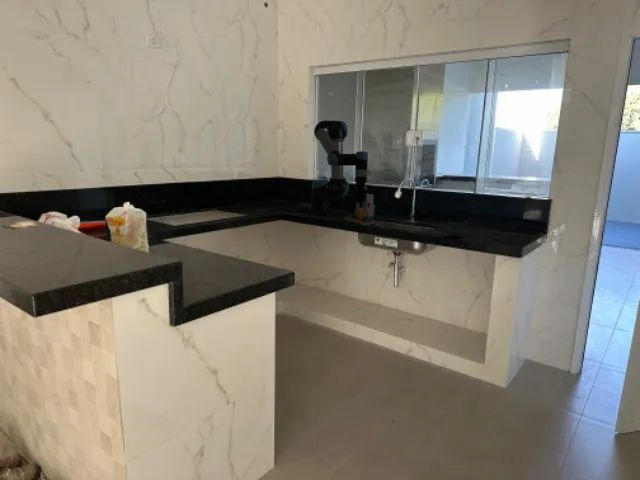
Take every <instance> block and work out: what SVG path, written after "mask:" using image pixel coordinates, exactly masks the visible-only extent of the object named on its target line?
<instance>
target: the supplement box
mask: <svg viewBox="0 0 640 480" xmlns="http://www.w3.org/2000/svg"><path fill="white" fill-rule="evenodd" d="M363 209H364V210H368V215H369V216H372V217H373V213H374V212H373V211H374V194H373V193H372V194H371V193H367V194H366V199H365V202H363V205H362V210H363ZM356 212H357V201H355V213H356Z"/></svg>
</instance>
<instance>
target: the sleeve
mask: <svg viewBox="0 0 640 480" xmlns="http://www.w3.org/2000/svg"><path fill="white" fill-rule="evenodd" d="M355 214H356V217H357V219H358V220H362V218H364V216H368V210H364V209H363V210H357V212H356V211H355Z"/></svg>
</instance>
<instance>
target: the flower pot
mask: <svg viewBox="0 0 640 480" xmlns="http://www.w3.org/2000/svg"><path fill="white" fill-rule="evenodd" d="M467 225H468V222H467V221H466V220H464V219H448V231H449V233H451V234H454V235H463V236H464V235H465V232H466V229H467ZM451 234H450V235H451Z"/></svg>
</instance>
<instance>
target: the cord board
mask: <svg viewBox="0 0 640 480" xmlns="http://www.w3.org/2000/svg"><path fill="white" fill-rule="evenodd" d="M346 220H347V221H346ZM344 221H346V222H349V221H351V222H350V223H352V222H354V223H353V224H356V223H358V224H357V225H359V224H361V225H360V226H362V225H363V226H362V227H364V225H366V226H372V225H371V224H375V225H379V221H377V220H373V216H369V215H368V216H364V218H362V220H358V219H357V217H356V213H349V214H346V216H345V218H344Z"/></svg>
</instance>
